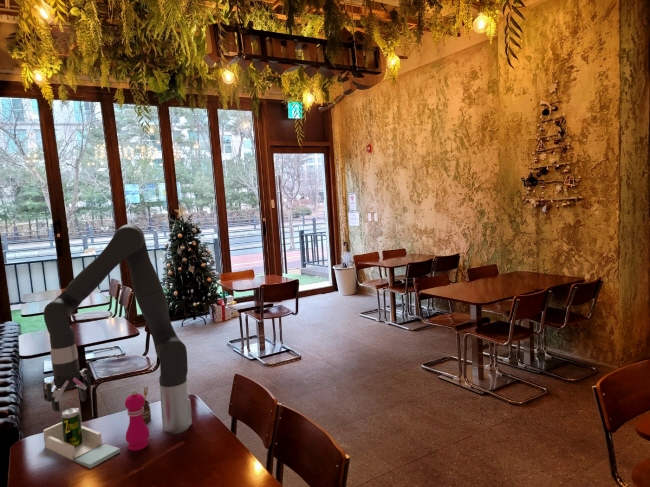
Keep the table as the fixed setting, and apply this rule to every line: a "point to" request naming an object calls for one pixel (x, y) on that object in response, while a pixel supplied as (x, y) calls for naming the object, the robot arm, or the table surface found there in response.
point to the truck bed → (57, 444)
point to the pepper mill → (136, 422)
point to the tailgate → (96, 455)
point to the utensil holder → (146, 408)
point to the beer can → (72, 427)
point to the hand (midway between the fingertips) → (70, 405)
